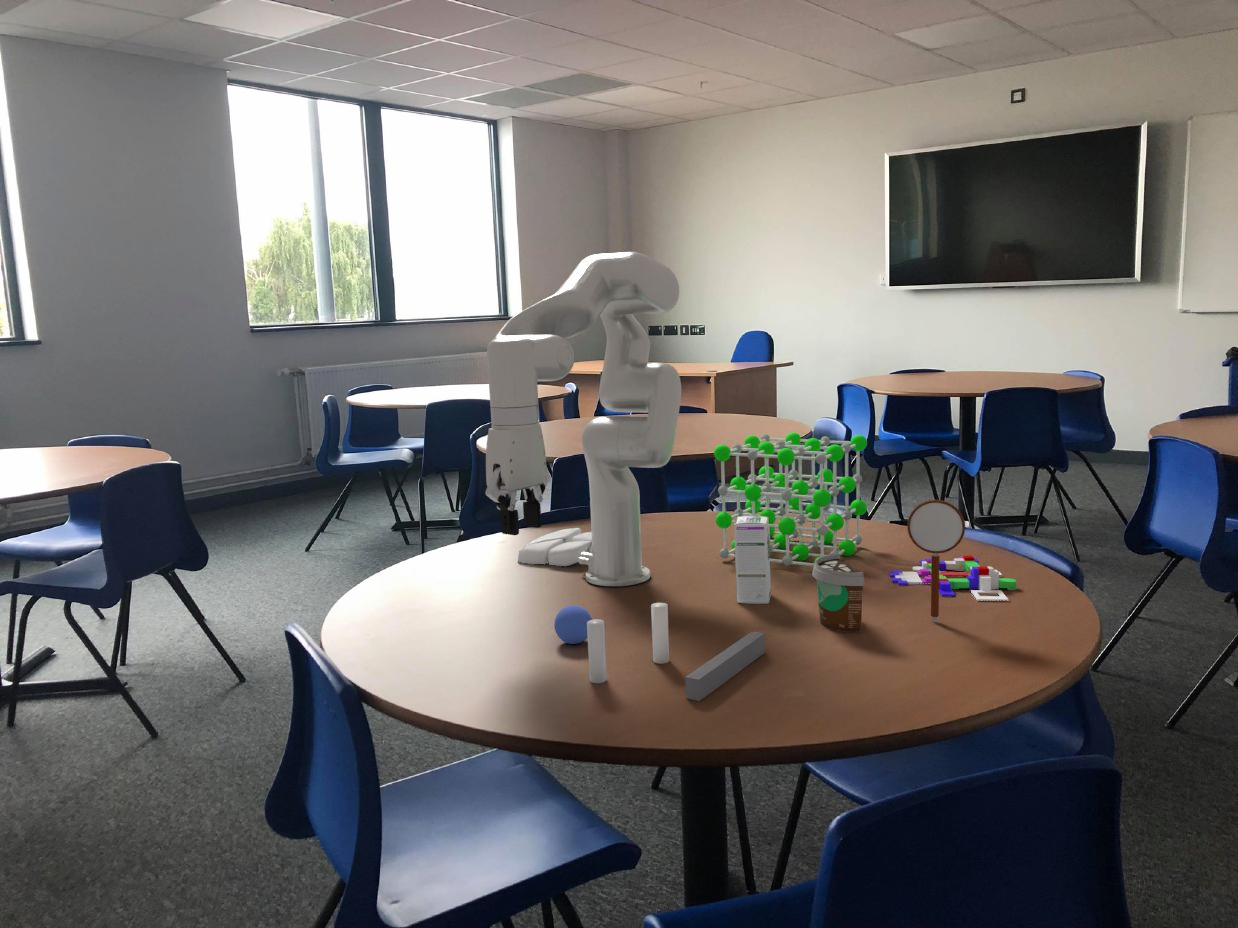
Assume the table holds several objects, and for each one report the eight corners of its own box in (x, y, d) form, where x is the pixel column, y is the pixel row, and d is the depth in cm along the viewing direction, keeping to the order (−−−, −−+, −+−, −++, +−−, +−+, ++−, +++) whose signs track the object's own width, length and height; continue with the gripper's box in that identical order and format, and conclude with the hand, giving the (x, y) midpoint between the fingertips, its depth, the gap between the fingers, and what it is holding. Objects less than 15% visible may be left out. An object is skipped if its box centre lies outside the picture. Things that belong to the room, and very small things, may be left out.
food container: (803, 612, 156) (802, 555, 155) (839, 610, 157) (839, 552, 155) (825, 637, 144) (825, 575, 143) (864, 635, 145) (864, 572, 143)
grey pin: (586, 681, 131) (583, 623, 129) (596, 675, 133) (593, 618, 131) (600, 684, 130) (597, 625, 128) (609, 678, 131) (607, 620, 130)
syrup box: (769, 604, 162) (768, 522, 159) (735, 603, 163) (733, 522, 160) (771, 594, 167) (769, 515, 165) (737, 593, 168) (736, 515, 166)
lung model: (507, 564, 195) (567, 546, 218) (579, 573, 188) (633, 554, 210) (508, 533, 195) (567, 518, 217) (580, 540, 187) (634, 524, 209)
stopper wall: (686, 698, 124) (685, 676, 123) (752, 650, 140) (752, 631, 140) (699, 701, 123) (698, 679, 122) (764, 652, 139) (764, 633, 138)
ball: (547, 645, 146) (545, 608, 145) (570, 633, 151) (568, 598, 150) (578, 652, 142) (576, 614, 141) (600, 639, 147) (599, 603, 146)
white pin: (650, 661, 137) (648, 606, 136) (658, 656, 139) (656, 601, 138) (663, 664, 136) (662, 608, 134) (672, 659, 138) (670, 604, 136)
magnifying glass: (963, 622, 149) (965, 499, 145) (963, 625, 147) (965, 501, 144) (906, 618, 151) (907, 498, 148) (906, 621, 150) (907, 500, 147)
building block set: (883, 565, 185) (883, 543, 184) (991, 565, 182) (992, 543, 181) (901, 604, 161) (901, 579, 160) (1026, 605, 157) (1027, 580, 157)
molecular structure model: (869, 546, 197) (869, 433, 194) (828, 576, 177) (827, 450, 173) (763, 535, 210) (761, 429, 206) (713, 562, 190) (710, 445, 186)
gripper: (531, 410, 155) (537, 517, 158) (459, 423, 141) (467, 539, 144) (567, 412, 151) (572, 521, 154) (497, 424, 137) (504, 544, 140)
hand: (521, 529), depth 149 cm, fingers open, 4 cm apart
